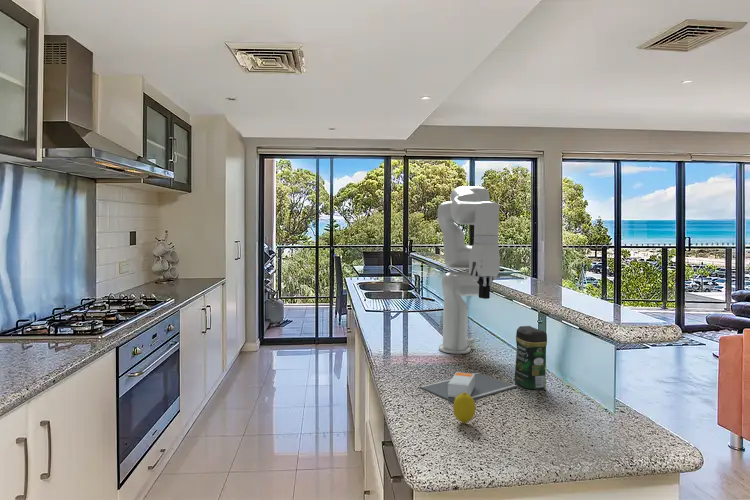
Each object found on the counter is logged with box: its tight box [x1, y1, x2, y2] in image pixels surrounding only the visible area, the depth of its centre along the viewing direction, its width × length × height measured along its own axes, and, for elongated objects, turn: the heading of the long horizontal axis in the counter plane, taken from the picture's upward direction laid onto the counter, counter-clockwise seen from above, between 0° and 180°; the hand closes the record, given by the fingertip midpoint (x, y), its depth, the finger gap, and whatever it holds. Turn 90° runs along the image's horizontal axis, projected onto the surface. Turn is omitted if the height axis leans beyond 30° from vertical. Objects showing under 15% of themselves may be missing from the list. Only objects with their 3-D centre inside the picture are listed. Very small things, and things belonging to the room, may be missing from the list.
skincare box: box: [448, 371, 475, 398], centre depth 144 cm, size 6×4×12 cm
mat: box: [419, 372, 518, 404], centre depth 149 cm, size 26×16×1 cm, turn 126°
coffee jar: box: [513, 325, 548, 391], centre depth 152 cm, size 10×8×19 cm
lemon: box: [452, 392, 476, 424], centre depth 122 cm, size 6×6×8 cm
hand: (484, 298), depth 154 cm, fingers closed
